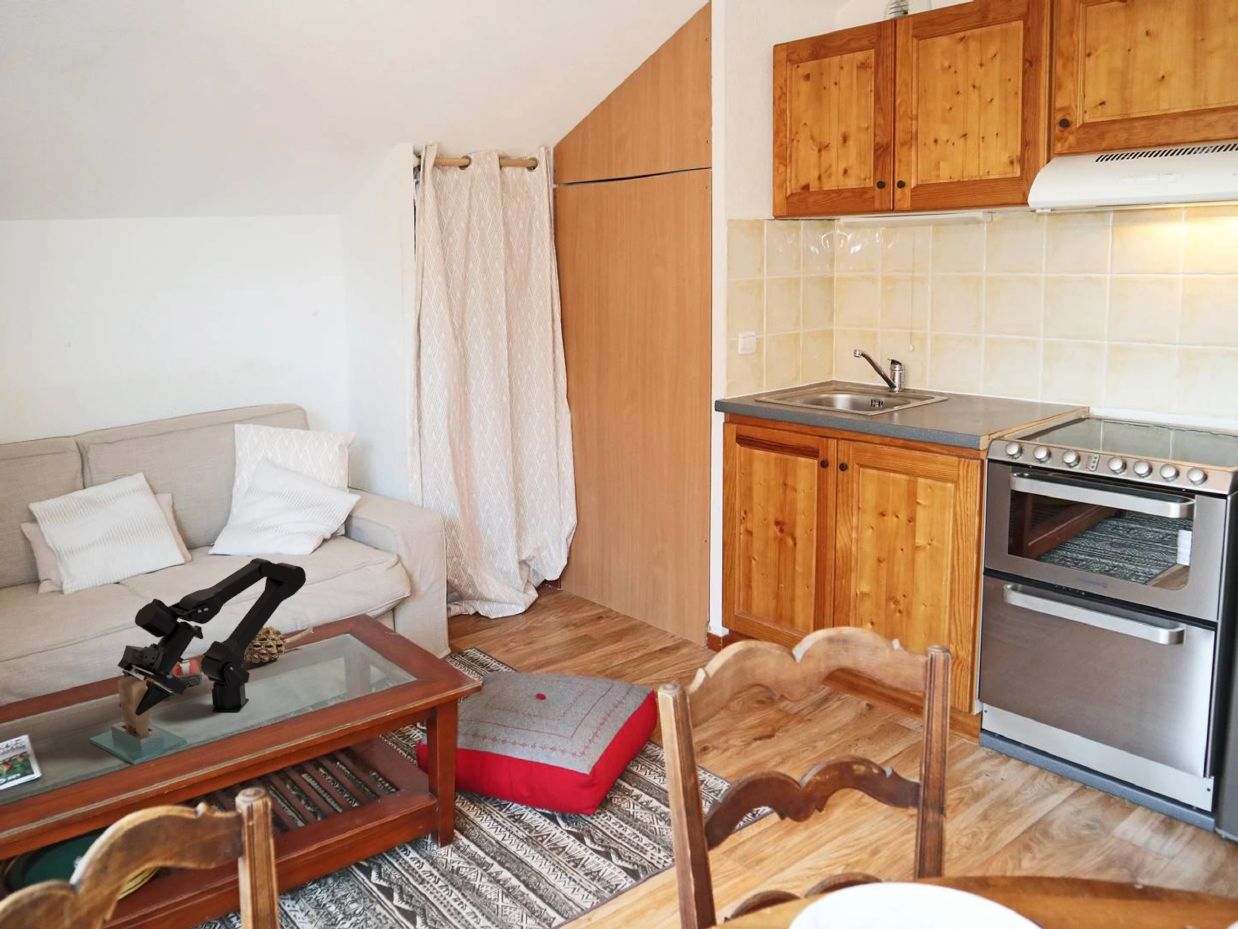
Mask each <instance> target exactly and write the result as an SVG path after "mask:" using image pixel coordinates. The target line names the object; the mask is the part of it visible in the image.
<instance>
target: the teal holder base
mask: <svg viewBox="0 0 1238 929" xmlns="http://www.w3.org/2000/svg"><path fill="white" fill-rule="evenodd" d="M187 741H188V740H187V739H185V738H184V737H181V736H178V735H176V734H174V733H172V732H170V731H168V730H166V729H163V728H162V727H159V726H157V725H155V724H152V723H151V722H150V724H148V732H147V733H144V734H142V735H137V732H136V728H132V729H130V730H126V728H125V723H124V722H122V721H120V722H117V723H114V724H112V725H110V730H109V731H107V732H106V731H105V732H104V733H101V734H98V735H95V736H93V737H90V738H89V743H91V744H93V745H95V746H97V747H99V748H101V749H102V750H105V751H107V752H109V753H110V754H113V755H115V756H116V757H119V758H120V759H123V760H124V761H126V762H128V763H131V764H132V765H137V764H138V763H141V762H143V761H147V760H149V759H151V758H154V757H156V756H159V755H161V754H163V753H166V752H168V751H171V750H174V749H176V748H178V747H181V746H184V745H186V744H187V743H188V742H187Z"/></svg>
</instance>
